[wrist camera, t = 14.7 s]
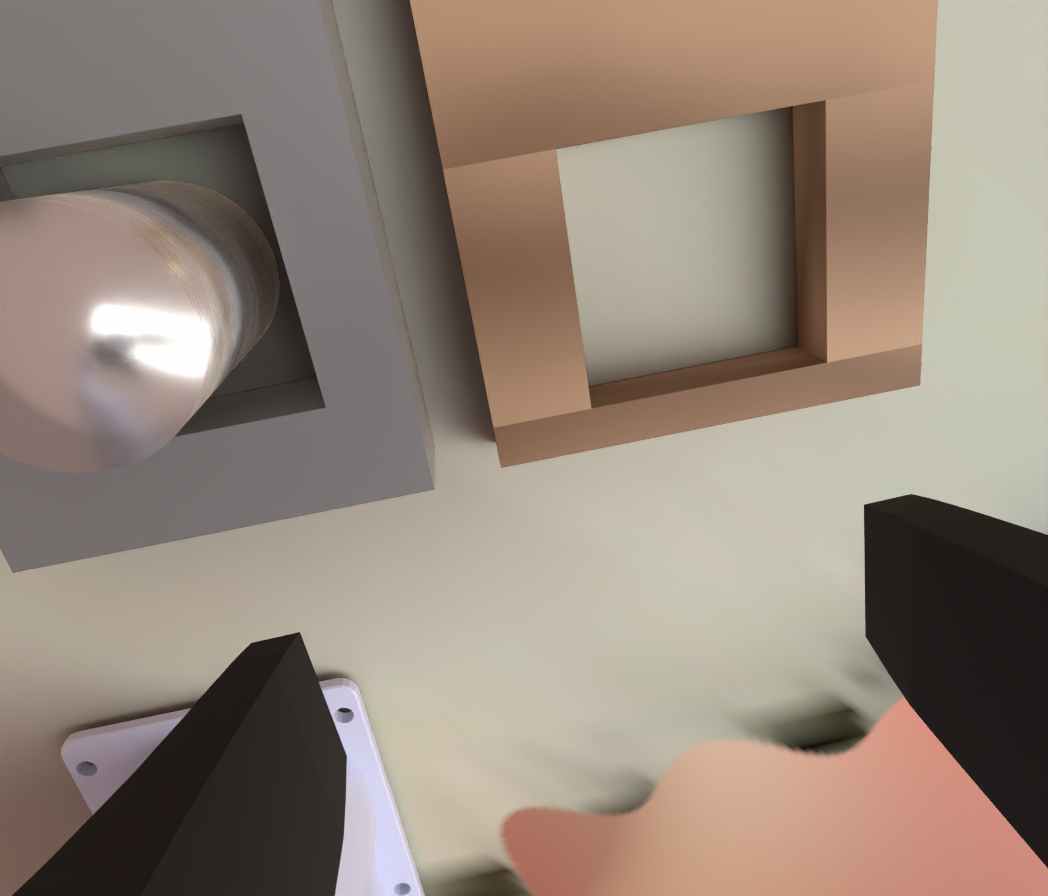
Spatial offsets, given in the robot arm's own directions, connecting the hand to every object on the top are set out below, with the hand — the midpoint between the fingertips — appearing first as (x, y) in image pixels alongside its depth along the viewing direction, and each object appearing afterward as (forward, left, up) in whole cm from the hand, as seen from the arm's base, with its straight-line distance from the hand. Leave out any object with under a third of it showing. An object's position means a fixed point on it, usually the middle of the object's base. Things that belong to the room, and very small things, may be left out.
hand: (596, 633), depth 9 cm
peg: (+4, +7, -10) cm, 12 cm away
